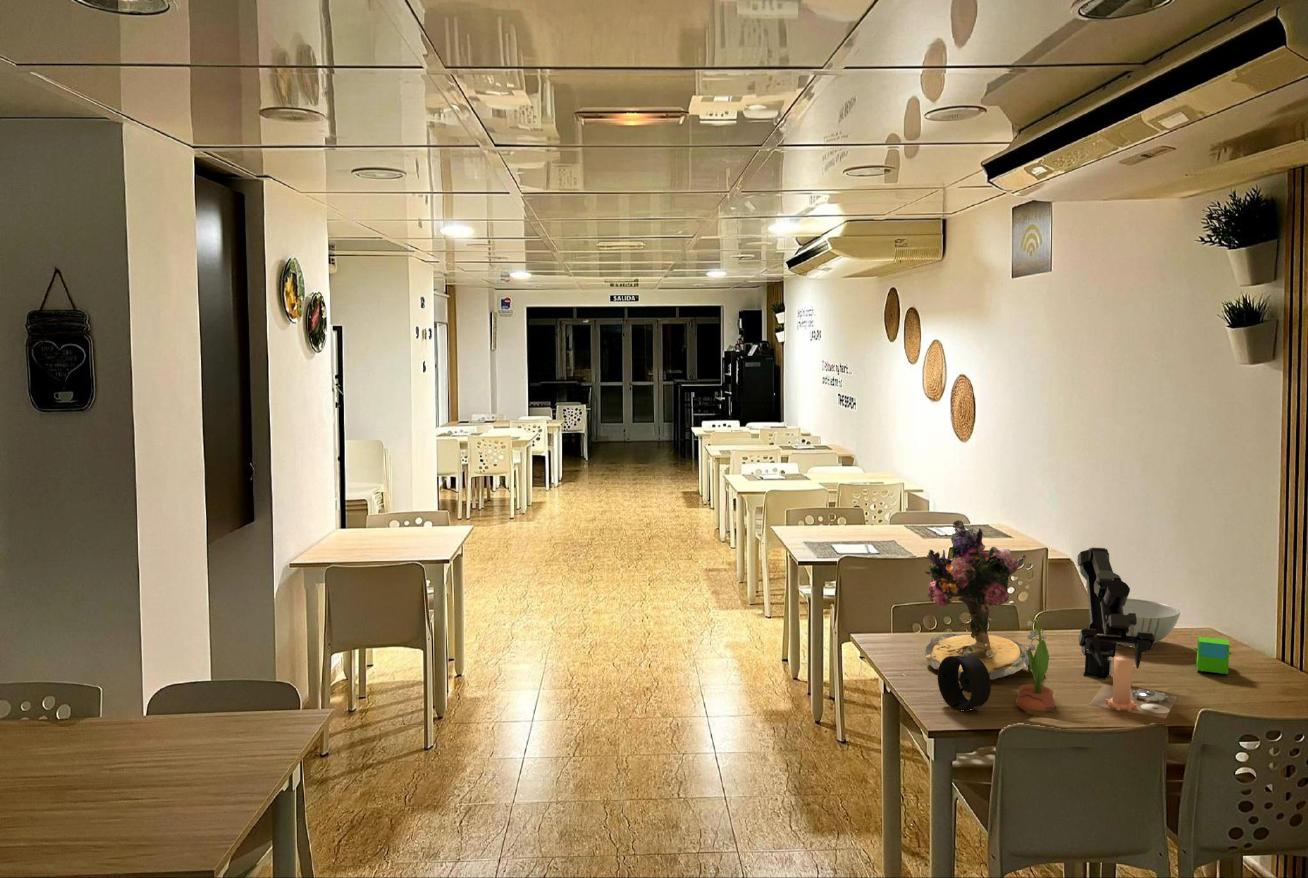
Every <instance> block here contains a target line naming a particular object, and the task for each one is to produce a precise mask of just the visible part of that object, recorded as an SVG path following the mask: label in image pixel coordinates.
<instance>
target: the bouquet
mask: <svg viewBox="0 0 1308 878" xmlns="http://www.w3.org/2000/svg"><path fill="white" fill-rule="evenodd" d="M952 527H953V529H954V530H953V531H954V532H955V533H952V537H951V538H950V541H951V543H952V547H951V553H952V558H946V550H944V549H943V550H942V555H940V552H939V551H937V552H936V553H935V551H934V550H933V549H929V550H928V551H929V552H928V554H927V555H926V558H927V559H928V561H929V562H931V563H932V564H934V566H931V565H929V567H928V568H929V570H928V571H926V570H925V571H924V574H927V575H928V576H930V577H931V578H932V579H933V580H934V581H931V582H928V583H927V584H928V585H927V586H928V592H927V597H928V598H931V599H932V600H933V601H934V602H935V603H936V604H937V606H938V607H941V608H944V607H947V606H948V605H951V604H952V603H953V601H952V600H951V599H952V598H956V599H957V600H958V601H960V602H961V603H963V604H964V605H965V606H966V608H967V609H968V613H969V615H970V616H969V617H970V624H969V625H970V630H971V631H970V632H971V633H970V634H965V635H963V634H958V633H946V634H945V633H944V634H939V635H937V636H935V637H932V638H931V639H930V640H929V641H930V642H929V643H928V644H927V645H926V646H925V650H924V651H925V652H924V655H925V659H926V661H927V664H928V665H929V666H931V667H932V668H933V669H934V670H938V669H939V666H940V664H941V662H942V660H943V659H945V658H946V657H948V656H965V655H973V656H976V657H977V658H979V659H980V660H981V661H982V662H983V663H984V665H985V666H986V668H987V670H988V673H989V676H990V681H991V680H996V679H998V678H1004V677H1005V676H1009V675H1013V674H1015V673H1017V672H1019V671H1021V670H1022V669H1023V668H1026V667H1027V671H1028V672H1030V671H1031V668H1030V665H1029V660H1028V649H1027V648H1026V646H1025V645H1024V644H1021V643H1020V642H1017V641H1015V640H1013V639H1010V638H1005V637H1002V636H999V635H998V636H997V635H991V634H989V633H988V630H989V629H988V628H989V619H990V617H989V616H990V609H989V606H991V607H999V606H1002V605H1004V604H1006V603H1007V602H1008V600H1009V598H1010V595H1009V592H1008V587H1009V577H1010V576H1012V575H1013V574H1015V573H1016V572H1017V571H1018V569H1019V567H1022V565H1024V563H1025V561H1026V558H1027V557H1026V555H1025V554H1022V556H1021V557H1020V558H1019V559H1018V558H1013V559H1012V558H1011V557H1012V556H1011V555H1012V554H1013V551H1011V549H1009V548H1007V549H1006V548H1005V547H1003V548H999V549H998V548H997V547H996V546H991V548H990V549H989V551H988V552H986V551H984V550H985V549H986V545H984V544H983V535H984V533H983V532H984V531H983V530H982V528H978V531H977V532H975V531H974V528H973V527H971V528H968V529H966V526H965V524H964V521H962V520H959V519H956V520H954V521H953V523H952ZM940 556H941V557H940ZM962 671H963V669H962V666H961V664H960V667H959V672H958V678H959V679H960V675H961V673H962Z"/></svg>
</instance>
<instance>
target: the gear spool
mask: <svg viewBox="0 0 1308 878" xmlns="http://www.w3.org/2000/svg"><path fill="white" fill-rule="evenodd" d="M1113 660H1114V661H1113V677H1112V678H1113V679H1112V686H1113V696H1112V697H1111V699H1106V704H1107V707H1109V708H1114V709H1113V710H1115V709H1116V711H1120V710H1127V711H1131V710H1133V709H1137V704H1135V702H1134V701H1130V695H1131V689H1132V674H1133V659H1132V658H1130V657H1126V656H1114V657H1113ZM1109 708H1108V709H1109Z"/></svg>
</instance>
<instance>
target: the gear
mask: <svg viewBox="0 0 1308 878" xmlns="http://www.w3.org/2000/svg"><path fill="white" fill-rule="evenodd" d="M1136 690H1137V691H1133V692H1132V696H1135V699H1136V700H1141V701H1145V702H1146V703H1150V702H1151V703H1159V704H1161V703H1162V702H1164V701H1165V702H1167V701H1168V696H1165V695H1166V693H1165V692H1160V691H1157V690H1155V689H1144V688H1143V689H1142V688H1137V689H1136Z"/></svg>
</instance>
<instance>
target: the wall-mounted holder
mask: <svg viewBox="0 0 1308 878" xmlns="http://www.w3.org/2000/svg"><path fill="white" fill-rule="evenodd" d="M960 664H961V666H962V669H963V671H962V673H961V675H960V678H958V672H959V667H960ZM991 682H992V681H991V680H990V676H989V673H988V670H987V668H986V666H985V665H984V663H983V662H982V661H981V660H980V659H979V658H977V657H976V656H973V655H965V656H948V657H946V658H945V659H943V660H942V662H941V664H940V666H939V669H937V685H938V690H939V692H940V695H941V697H942V699H943V700H944V702H945V703H946V704H947V705H948V707H950V708H951V709H952V708H953V709H952V710H954V709H956V710H955V711H957V710H958V711H957V712H962V711H961V710H964V711H963V712H967V711H966V710H970V709H973V710H975V708H977V707H982V706H983V705H985V704H986V703H987V702H988V700H989V698H990V696H991V692H992V683H991ZM964 692H965V693H968V694H970V696H969V699H968V698H967V697H966V695H965V694H964ZM970 711H971V710H970Z"/></svg>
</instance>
